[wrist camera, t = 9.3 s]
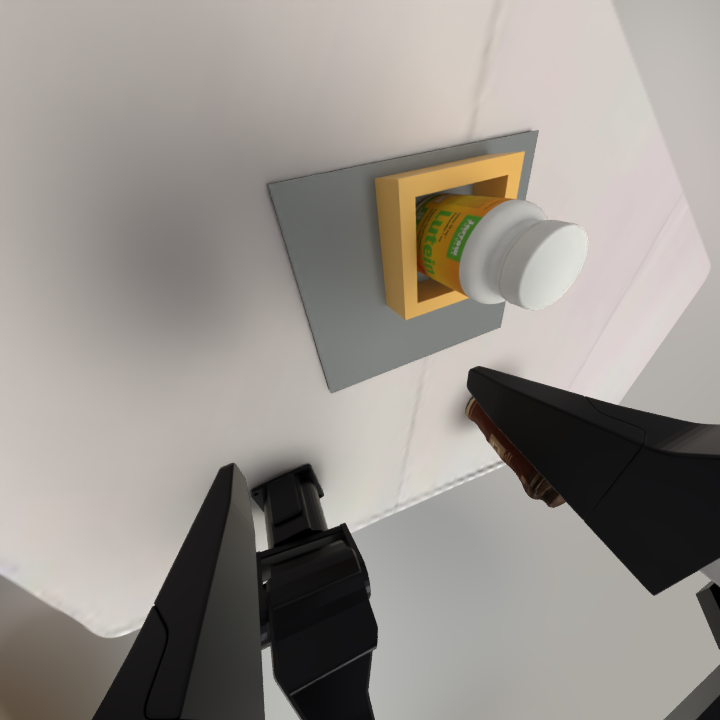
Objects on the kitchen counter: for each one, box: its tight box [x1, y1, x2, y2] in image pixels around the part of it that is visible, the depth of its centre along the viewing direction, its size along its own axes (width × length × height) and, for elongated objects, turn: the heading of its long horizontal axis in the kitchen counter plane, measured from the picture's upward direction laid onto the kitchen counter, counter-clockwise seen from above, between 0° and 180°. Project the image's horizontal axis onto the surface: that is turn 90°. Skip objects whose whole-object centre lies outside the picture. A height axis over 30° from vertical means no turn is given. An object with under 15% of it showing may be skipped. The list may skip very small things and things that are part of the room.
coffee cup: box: [465, 398, 566, 508], centre depth 31 cm, size 9×8×13 cm
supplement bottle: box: [416, 193, 588, 310], centre depth 16 cm, size 5×5×10 cm
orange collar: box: [375, 151, 525, 320], centre depth 19 cm, size 8×8×3 cm
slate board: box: [268, 130, 539, 393], centre depth 22 cm, size 16×19×1 cm
